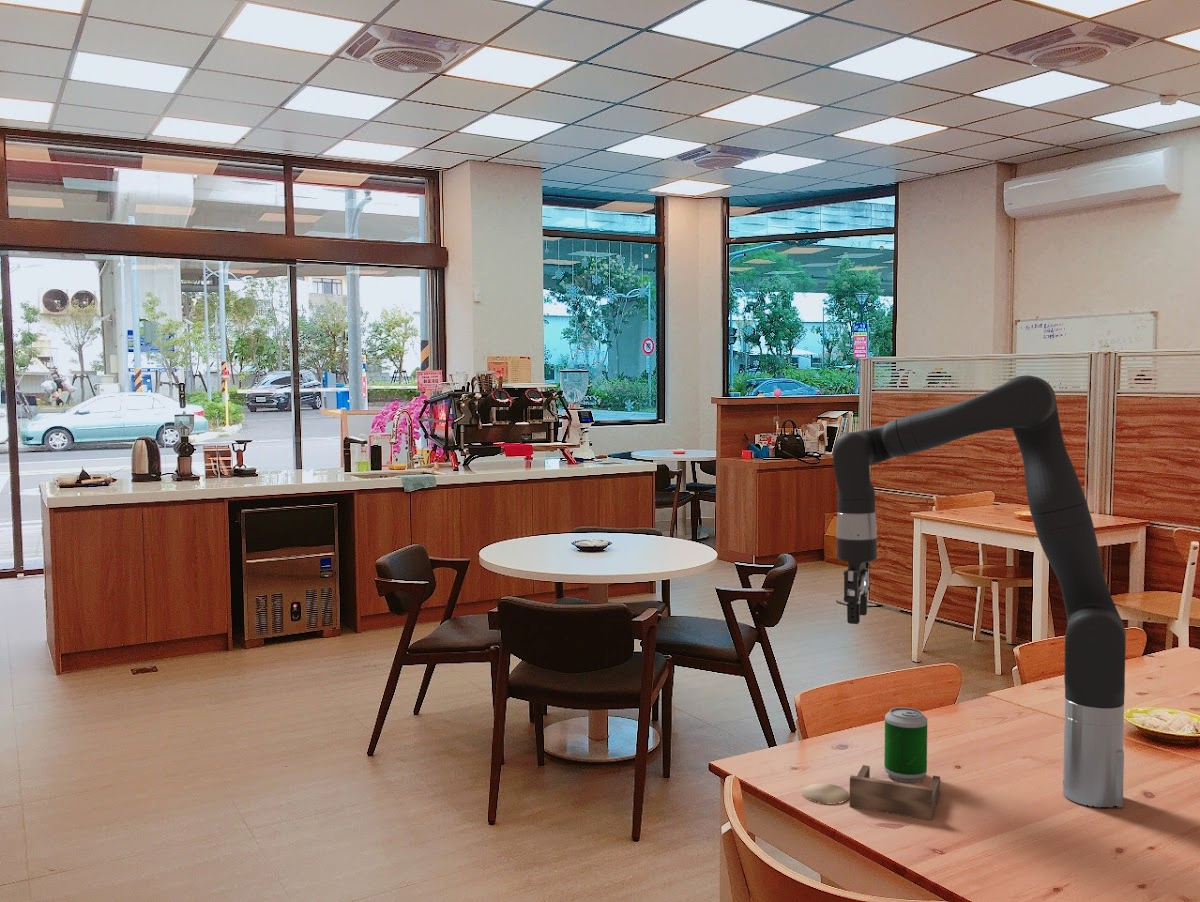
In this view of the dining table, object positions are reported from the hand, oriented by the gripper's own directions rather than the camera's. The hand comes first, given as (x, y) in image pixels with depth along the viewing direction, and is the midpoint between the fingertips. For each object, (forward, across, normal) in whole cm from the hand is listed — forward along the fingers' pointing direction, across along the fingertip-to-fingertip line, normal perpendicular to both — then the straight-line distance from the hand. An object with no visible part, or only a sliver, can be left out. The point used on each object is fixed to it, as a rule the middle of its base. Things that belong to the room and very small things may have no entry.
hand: (857, 619), depth 191 cm
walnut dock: (+27, -18, -9) cm, 34 cm away
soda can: (+28, -6, -9) cm, 30 cm away
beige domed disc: (+27, -21, +2) cm, 34 cm away
